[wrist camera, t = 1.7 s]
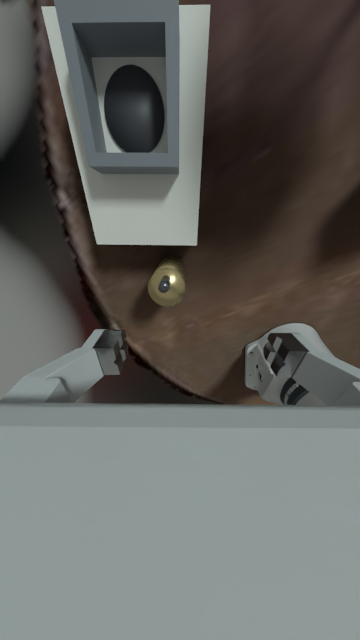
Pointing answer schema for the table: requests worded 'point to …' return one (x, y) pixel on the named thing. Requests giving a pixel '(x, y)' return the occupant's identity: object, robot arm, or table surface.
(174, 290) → the spout can
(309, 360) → the robot arm
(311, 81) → the table surface
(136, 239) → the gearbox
